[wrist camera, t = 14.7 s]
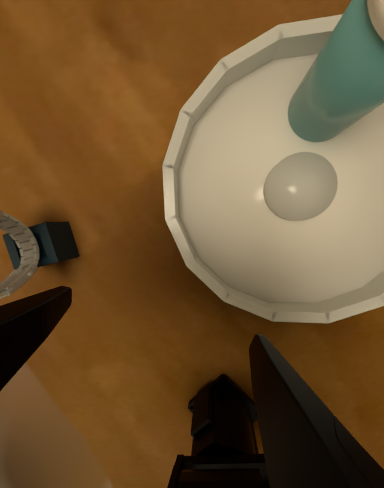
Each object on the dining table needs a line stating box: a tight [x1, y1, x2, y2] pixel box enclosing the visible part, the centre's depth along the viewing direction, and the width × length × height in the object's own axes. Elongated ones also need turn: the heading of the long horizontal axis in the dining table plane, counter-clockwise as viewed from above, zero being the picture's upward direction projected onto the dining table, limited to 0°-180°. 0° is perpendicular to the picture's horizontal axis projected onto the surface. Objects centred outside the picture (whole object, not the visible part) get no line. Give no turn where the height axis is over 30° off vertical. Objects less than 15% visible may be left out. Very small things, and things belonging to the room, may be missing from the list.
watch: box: [0, 210, 79, 298], centre depth 17 cm, size 6×8×11 cm
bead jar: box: [288, 0, 384, 142], centre depth 12 cm, size 6×6×10 cm
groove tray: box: [162, 14, 384, 323], centre depth 17 cm, size 25×25×3 cm
